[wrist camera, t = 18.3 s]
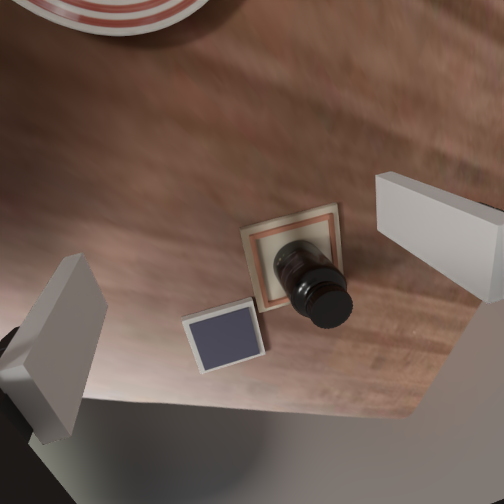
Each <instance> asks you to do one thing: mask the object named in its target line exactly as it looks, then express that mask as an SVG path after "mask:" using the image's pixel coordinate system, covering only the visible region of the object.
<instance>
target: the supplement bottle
mask: <svg viewBox="0 0 504 504" xmlns="http://www.w3.org/2000/svg"><path fill="white" fill-rule="evenodd" d="M273 270H274V274H275V276H276V278H277V280H278V282H279V283H280V285H281V287H282V289H283V290H284V292H285V294H286V296H287V297H288V299H289V301H290V303H291V304H292V306H293V308H294V309H295V310H296V311H297V312H298V313H299V314H301V315H302V316H305V317H308V318H310V319H311V320H312V322H313V323H314V324H315V325H317V326H318V327H320V328H324V329H326V328H328V329H330V328H334V327H337V326H339V325H341V324H342V323H344V322H345V321H346V320H347V319H348V317H349V316H350V314H351V313H352V309H353V308H352V307H353V304H352V303H353V301H352V299H351V297H350V295H349V294H348V293H347V283H346V279H345V277H344V275H343V274H342V273H341V272H340V270H339V269H338V268H337V267H336V266H335V265H334V264H333V263H332V262H331V261H330V260H329V259H328V258H327V257H326V256H325V255H324V254H323V253H322V252H321V251H320V250H319V249H318V248H317V247H316V246H315V245H314V244H312V243H311V242H308V241H305V240H296V241H292V242H289V243H287V244H286V245H284V246H283V247H282V248H281V249H280V250H279V251H278V252H277V254H276V256H275V258H274V262H273Z"/></svg>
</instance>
